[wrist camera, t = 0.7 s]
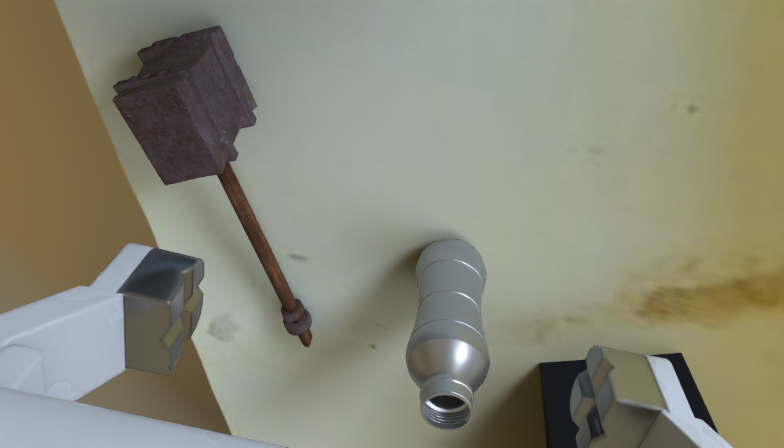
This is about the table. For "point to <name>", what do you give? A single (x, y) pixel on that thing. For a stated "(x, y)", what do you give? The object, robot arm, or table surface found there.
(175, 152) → the hammer
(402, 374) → the table surface
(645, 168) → the table surface
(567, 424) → the product box
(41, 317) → the robot arm
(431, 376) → the plastic bottle
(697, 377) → the table surface
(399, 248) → the table surface
